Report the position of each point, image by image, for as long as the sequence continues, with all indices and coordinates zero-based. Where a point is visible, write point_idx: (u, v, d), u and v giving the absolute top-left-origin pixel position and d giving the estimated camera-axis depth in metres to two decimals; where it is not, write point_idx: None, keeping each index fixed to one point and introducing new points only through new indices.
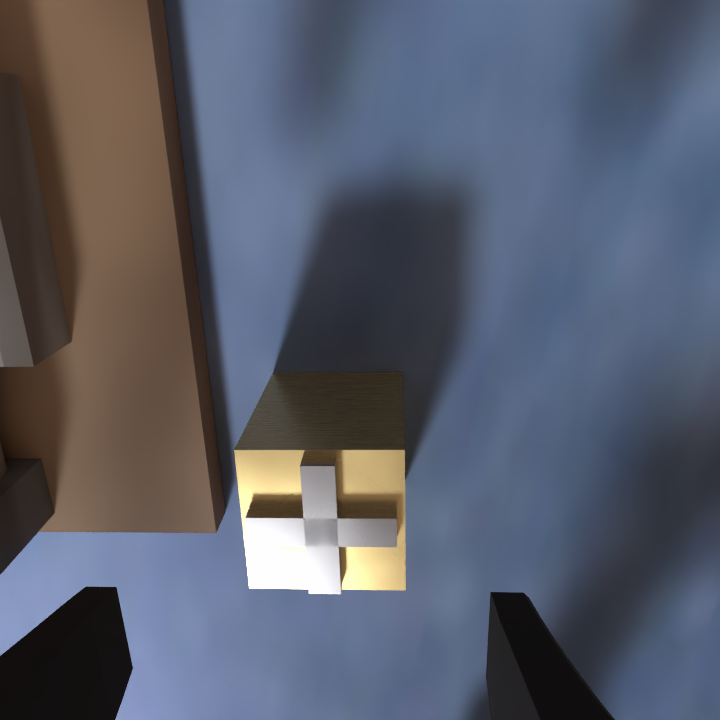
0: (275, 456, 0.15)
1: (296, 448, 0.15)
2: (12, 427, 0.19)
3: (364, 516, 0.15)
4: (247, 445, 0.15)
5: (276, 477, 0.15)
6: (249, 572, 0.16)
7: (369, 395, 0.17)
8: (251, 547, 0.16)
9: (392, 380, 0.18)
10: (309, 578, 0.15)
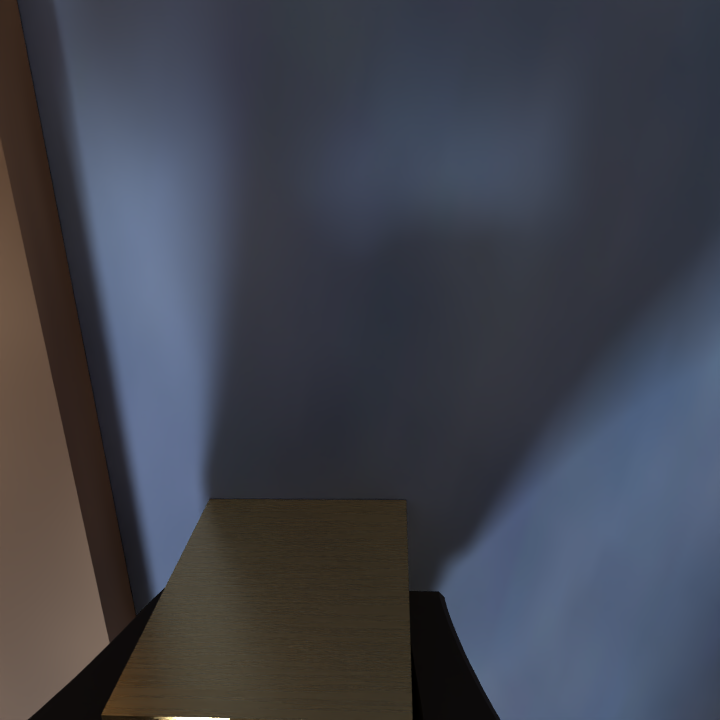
0: None
1: (213, 714, 0.08)
2: None
3: None
4: (128, 699, 0.08)
5: None
6: None
7: (353, 559, 0.11)
8: None
9: (390, 521, 0.12)
10: None
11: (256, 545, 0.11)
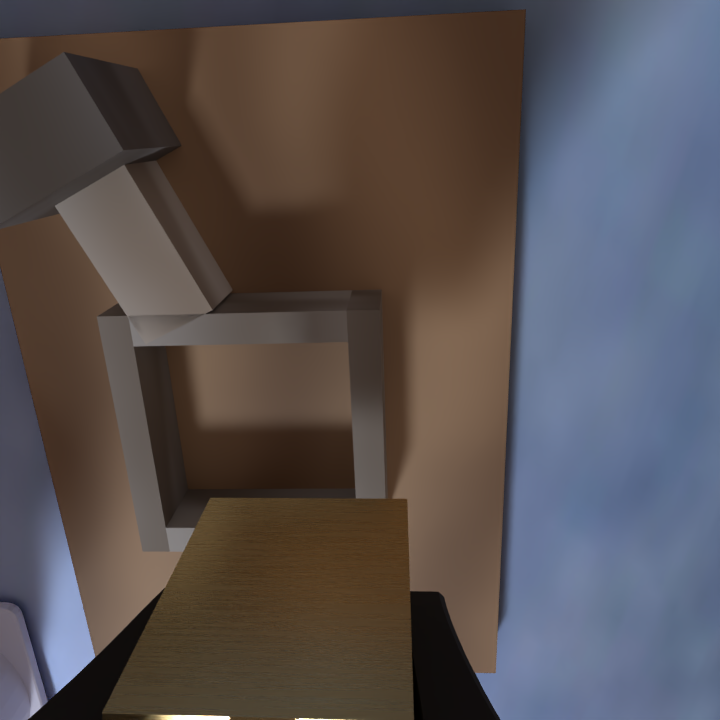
0: None
1: (214, 712, 0.08)
2: None
3: None
4: (129, 697, 0.08)
5: None
6: None
7: (354, 557, 0.11)
8: None
9: (391, 520, 0.12)
10: None
11: (257, 544, 0.11)
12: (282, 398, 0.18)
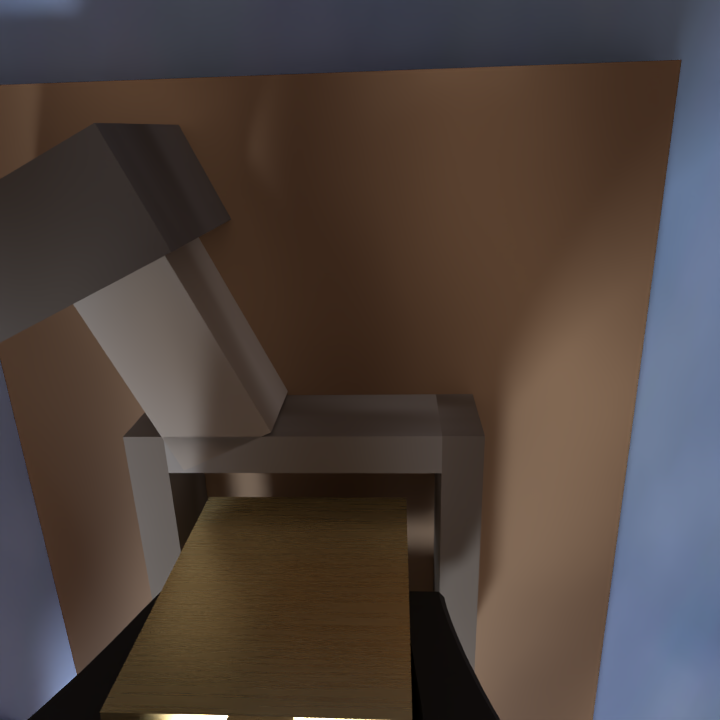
0: None
1: (212, 711, 0.08)
2: None
3: None
4: (127, 696, 0.08)
5: None
6: None
7: (353, 556, 0.11)
8: None
9: (390, 519, 0.12)
10: None
11: (256, 543, 0.11)
12: None
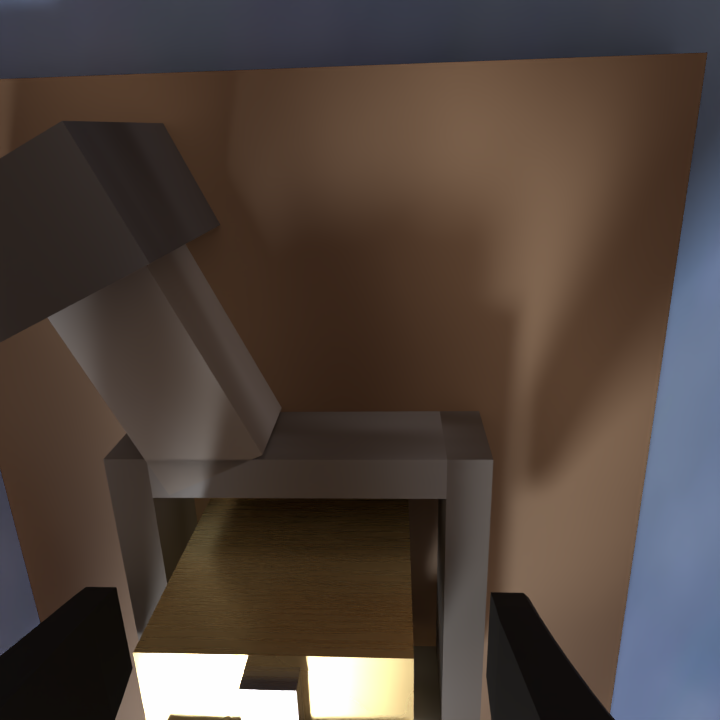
0: (201, 663, 0.09)
1: (234, 651, 0.09)
2: None
3: None
4: (157, 640, 0.09)
5: (203, 692, 0.09)
6: None
7: (358, 523, 0.12)
8: None
9: None
10: None
11: (268, 512, 0.12)
12: None
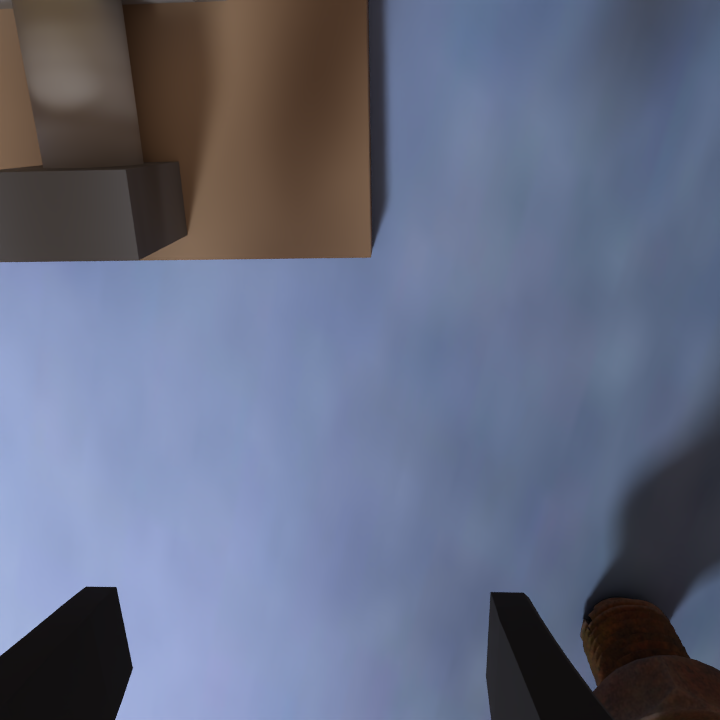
0: None
1: None
2: (148, 119, 0.17)
3: None
4: None
5: None
6: None
7: None
8: None
9: None
10: None
11: None
12: None
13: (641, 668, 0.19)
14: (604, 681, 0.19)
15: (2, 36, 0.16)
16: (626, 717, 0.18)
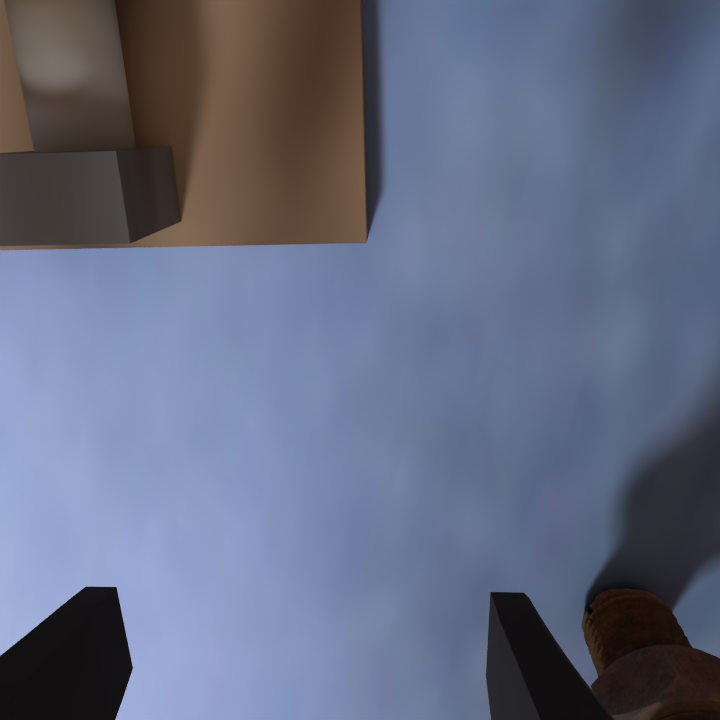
0: None
1: None
2: (140, 104, 0.17)
3: None
4: None
5: None
6: None
7: None
8: None
9: None
10: None
11: None
12: None
13: (643, 658, 0.18)
14: (605, 671, 0.19)
15: None
16: (627, 707, 0.18)
